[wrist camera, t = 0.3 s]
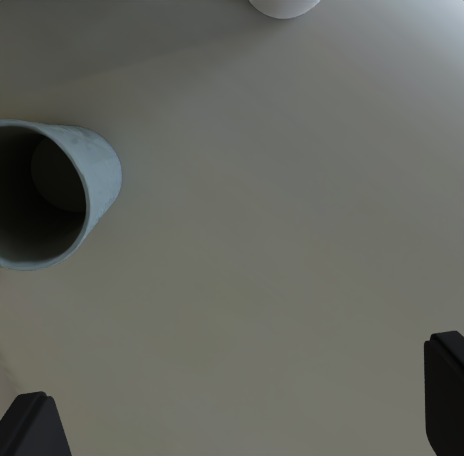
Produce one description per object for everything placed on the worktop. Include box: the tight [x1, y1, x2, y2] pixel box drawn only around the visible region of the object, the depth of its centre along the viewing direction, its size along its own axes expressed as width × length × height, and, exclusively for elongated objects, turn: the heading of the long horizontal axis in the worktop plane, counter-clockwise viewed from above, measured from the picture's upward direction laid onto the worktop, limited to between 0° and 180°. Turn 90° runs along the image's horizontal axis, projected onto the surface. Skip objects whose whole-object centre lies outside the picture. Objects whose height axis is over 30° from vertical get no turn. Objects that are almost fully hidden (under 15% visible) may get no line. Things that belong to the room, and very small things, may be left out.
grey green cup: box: [0, 119, 122, 271], centre depth 34 cm, size 10×10×12 cm
